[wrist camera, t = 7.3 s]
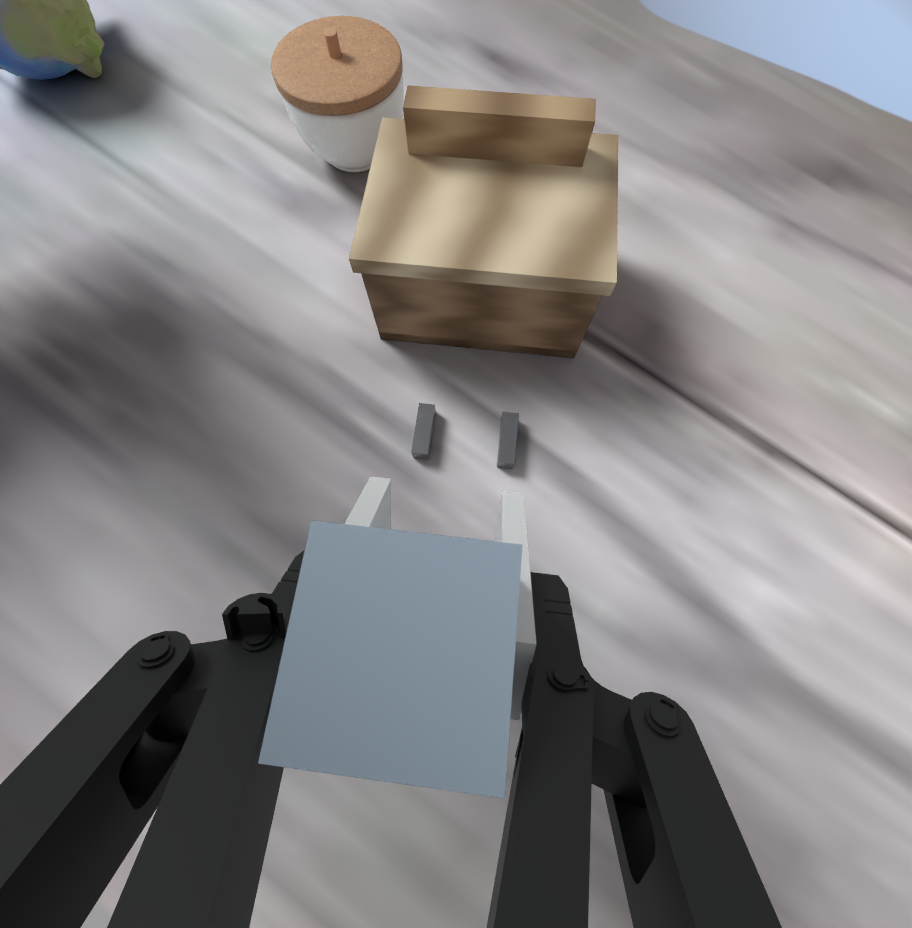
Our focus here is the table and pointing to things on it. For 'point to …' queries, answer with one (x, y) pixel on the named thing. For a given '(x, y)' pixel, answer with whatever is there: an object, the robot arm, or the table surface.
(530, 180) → the lid
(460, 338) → the toolbox
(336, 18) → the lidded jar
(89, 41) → the globe
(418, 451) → the pair of grey bars
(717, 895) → the robot arm
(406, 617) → the blue-grey block
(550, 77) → the table surface
